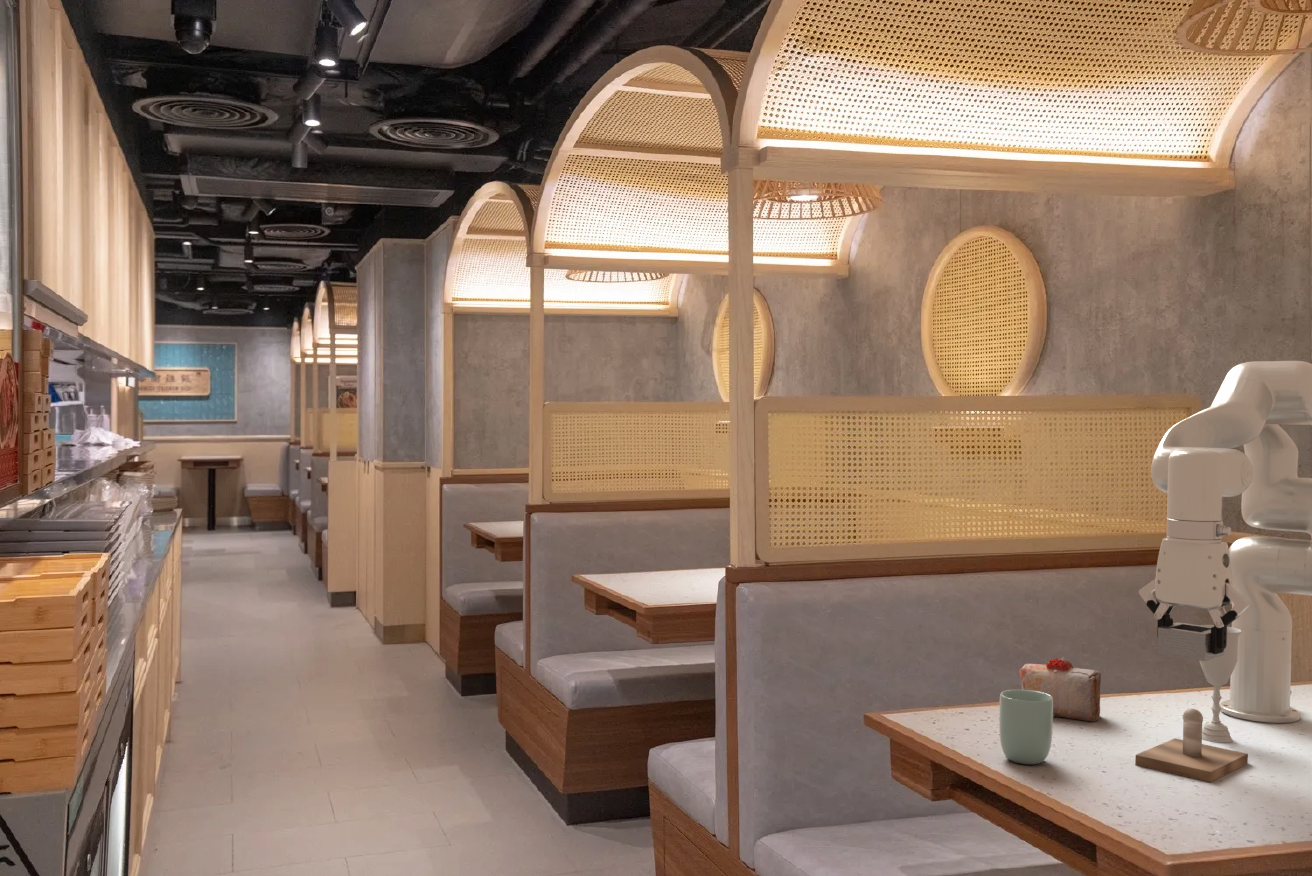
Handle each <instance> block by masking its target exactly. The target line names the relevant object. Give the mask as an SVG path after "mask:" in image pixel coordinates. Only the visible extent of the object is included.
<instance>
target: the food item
mask: <svg viewBox="0 0 1312 876" xmlns="http://www.w3.org/2000/svg"><path fill="white" fill-rule="evenodd" d="M1018 672H1019V677H1020V682H1021V690H1031V691H1038V692H1043V693H1047V694H1049V695H1051V696H1052V697H1053V717H1057V718H1058V717H1059V718H1066V719H1072V720H1075V721H1076V720H1077V721H1085V722H1096V721H1098V719H1099V718H1100V716H1101V715H1100V714H1101V683H1102V682H1101V681H1102V673H1101V672H1100V671H1098V670H1095V669H1090V668H1089V669H1086V668H1080V667H1074V666H1073V664H1072V663H1071V662H1070V661H1068V660H1066V658H1065V657H1064V656H1062V657H1061V658H1060V659H1058V658H1057V657H1055V658H1052V659H1050V660H1048V663H1047V664H1042V663H1041V664H1040V663H1039V664H1038V663H1025V664H1024V665H1023V666H1022V668H1020V669H1019V670H1018Z"/></svg>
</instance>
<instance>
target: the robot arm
mask: <svg viewBox="0 0 1312 876" xmlns="http://www.w3.org/2000/svg"><path fill="white" fill-rule="evenodd" d="M1280 425H1297V426H1298V425H1300V426H1301V425H1302V426H1304V425H1307V426H1312V363H1310V362H1308V361H1302V360H1273V361H1272V360H1271V361H1270V360H1269V361H1267V360H1264V361H1260V360H1259V361H1258V360H1255V361H1246V362H1242V363H1239V364H1237V365H1234V366H1233V367H1232V368H1231V369H1230V370H1229V371H1228V372H1227V374H1226V376H1225V377H1224V379H1223V381H1222V383H1221V385H1220V387H1219V389H1218V391H1217V393H1216V395H1215V397H1214V399H1213V401H1212V403H1211V405H1210V406H1209V407H1208V408H1205V409H1203V410H1201V411H1198V412H1197V413H1194V414H1192V415H1191V416H1188V417H1186V418H1185V419H1183V420H1180V421H1179V422H1177V423H1175V424H1174V425H1173V426H1171V427H1170V428H1169V429H1168V430H1167V431H1166V433H1165V434H1164V435H1163V436H1162V439H1161V440H1160V442H1159V444H1158V446H1157V447H1156V450H1155V452H1154V455H1153V457H1152V460H1151V461H1152V462H1151V466H1150V474H1151V475H1150V476H1151V480H1152V483H1153V485H1154V486H1155V488H1157V489H1158V490H1159V491H1160V492H1163V493H1166V494H1167V499H1166V500H1167V506H1166V507H1167V509H1166V537H1164V538H1162V540H1161V544H1160V548H1159V551H1158V556H1157V563H1156V568H1155V569H1156V570H1155V578H1154V579H1152V580H1151V581H1150V582H1148V583H1147V584H1145V585H1144V586H1142V588H1140V589H1139V590H1138V594H1139V596H1140V597H1141V599H1142V600H1143V602H1144V603H1145V604H1146V607H1148V609H1149V610H1150V611H1151V612H1152V614H1153V617H1154V618H1155V619H1156V620H1157V629H1156V630H1157V631H1156V632H1157V634H1156V635H1157V638H1158V627H1162V626H1167V625H1170V624H1173V623H1174V619H1173V617H1171V614H1172V612H1173V611H1174V609H1175V607H1176V606H1180V607H1181V606H1182V607H1187V608H1195V609H1204V610H1205V609H1206V610H1207V612H1208V613H1209V615H1210V617H1211V619H1212V621H1213V623H1214V624H1213V625H1214V627H1212V628H1211V653H1212V654H1219V653H1222V652H1223V651H1224V649H1225V648H1226V645H1227V626H1228V627H1230V625H1231V627H1233V628H1237V629H1240V630H1241V633H1240V635H1239V636H1238V657H1237V663H1236V665H1235V668H1234V670H1233V672H1232V674H1231V676H1230V678H1229V680H1230V681H1229V682H1230V683H1229V685H1230V686H1229V690H1230V691H1229V692H1230V693H1229V699H1228V700H1224V701H1222V702H1220V703H1219V704H1220V707H1221V708H1222V710H1221V711H1220V712H1222V713H1224V714H1225V715H1228V716H1230V717H1232V718H1233V717H1234V718H1238V719H1242V720H1248V721H1253V722H1260V723H1270V724H1271V723H1273V724H1274V723H1276V724H1279V723H1280V724H1284V723H1294V722H1297V721H1298V720H1300V719H1301V713H1300V711H1299V710H1297V709H1296V708H1294V707H1291V696H1292V689H1291V684H1292V683H1291V682H1292V681H1291V680H1292V679H1291V678H1292V677H1291V676H1292V675H1291V673H1292V639H1293V637H1292V636H1293V635H1292V633H1293V619H1292V618H1293V617H1292V614H1291V612H1290V610H1289V609H1288V607H1287V606H1286V603H1284V602H1283V600H1282V598H1280V596H1279V595H1278V594H1284V593H1285V594H1291V595H1292V594H1293V595H1300V596H1301V595H1302V596H1312V478H1311V477H1299V476H1298V465H1299V450H1298V447H1297V445H1296V443H1295V442H1294V441H1293V439H1292V438H1291V436H1290V435H1289V434H1288V433H1287V432H1286V430H1284V429H1283V427H1281V426H1280ZM1241 446H1243V449H1244V452H1243V451H1241V450H1238V449H1236V448H1238V447H1241ZM1240 495H1241V505H1240V507H1241V508H1240V509H1241V516H1242V519H1243V521H1244V522H1245V523H1246V524H1247V525H1248V526H1250V527H1253V528H1257V529H1262V530H1263V529H1264V530H1272V531H1285V532H1295V533H1297V532H1298V533H1307V534H1308V535H1310V539H1311V540H1309V539H1297V538H1285V537H1276V536H1275V537H1273V536H1258V535H1257V536H1256V535H1255V536H1253V535H1252V536H1244V537H1240V538H1239V539H1237V540H1235V541H1233V542H1232V543H1231V545H1230V546H1229V545H1228V542H1227V541H1222V539H1223V538H1224V537H1225V536H1230V535H1231V534H1232V528H1231V526H1227V525H1224V521H1223V520H1222V519H1223V518H1222V515H1223V498H1224V497H1225V498H1227V497H1228V498H1231V497H1236V496H1240ZM1153 593H1155V595H1154V594H1153ZM1277 593H1278V594H1277ZM1229 606H1231V609H1230V610H1229V611H1226V609H1225V607H1229Z"/></svg>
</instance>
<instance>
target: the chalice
mask: <svg viewBox="0 0 1312 876" xmlns="http://www.w3.org/2000/svg"><path fill="white" fill-rule="evenodd" d="M1200 625H1201V626H1208V627H1214V624H1200ZM1240 633H1241V630H1240V629H1237V628H1233V627H1232V626H1227V645H1226V648H1225V649H1224V655H1223V656H1220V657H1217V658H1214V659H1211V660H1208V661H1199V663H1200V667H1201V669H1202V672H1203V674H1204V677H1205V679H1206V681H1207V683H1209V684H1211V685H1212V687H1213V693H1212V695H1211V699H1212V701H1213V703H1212V706H1211V707H1210V710H1211V711H1212V718H1211V719H1210V721H1207V722H1206V723H1205V724H1204V725H1203V726H1202V740H1205V741H1209V742H1214V743H1231V742H1232V741H1233V738H1232V737H1231V733H1230V731H1229V728H1228V726H1227V725H1226V724H1225V723H1222V721H1221V720H1220V713H1221V712H1222V711H1221V710H1222V708H1221V707H1220V704H1221V700H1222V699H1223V697H1222V696H1221V692H1220V689H1221V686H1225V685H1227V683H1228V681H1229V680H1230V679H1231V674H1232V672H1233V670H1234V668H1235V665H1236V663H1237V657H1238V636H1239V635H1240Z"/></svg>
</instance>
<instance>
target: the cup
mask: <svg viewBox="0 0 1312 876" xmlns="http://www.w3.org/2000/svg"><path fill="white" fill-rule="evenodd" d="M998 711H999V713H998V715H999V716H998V717H999V718H998V722H999V724H998V725H999V727H998V729H999V730H998V731H999V741H1000V746H1001V750H1002V752H1003V754H1004V756H1005V757H1006V758H1007V759H1008V760H1010V762H1014V763H1017V764H1021V765H1038V764H1042V763H1043V762H1044V761H1045V760H1046V759H1047V757H1048V756H1049V754H1050V751H1051V747H1052V741H1053V728H1054V716H1053V697H1052V696H1051V695H1049V694H1047V693H1043V692H1038V691H1031V690H1022V689H1006V690H1003V691H1001V692H1000V695H999V710H998Z"/></svg>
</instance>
